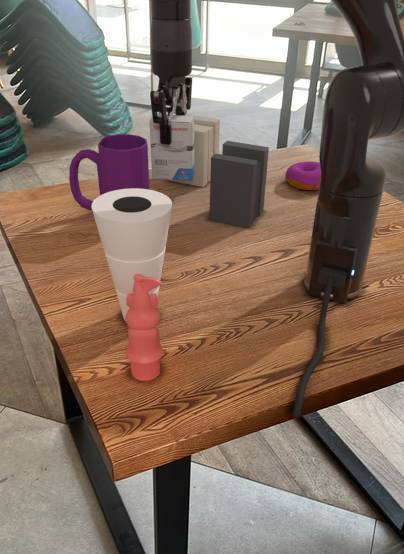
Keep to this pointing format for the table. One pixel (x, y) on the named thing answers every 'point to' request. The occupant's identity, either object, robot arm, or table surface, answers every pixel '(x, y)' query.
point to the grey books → (238, 183)
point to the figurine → (143, 329)
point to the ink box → (173, 150)
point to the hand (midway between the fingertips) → (172, 138)
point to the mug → (114, 166)
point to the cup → (133, 236)
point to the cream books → (203, 149)
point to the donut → (304, 175)
